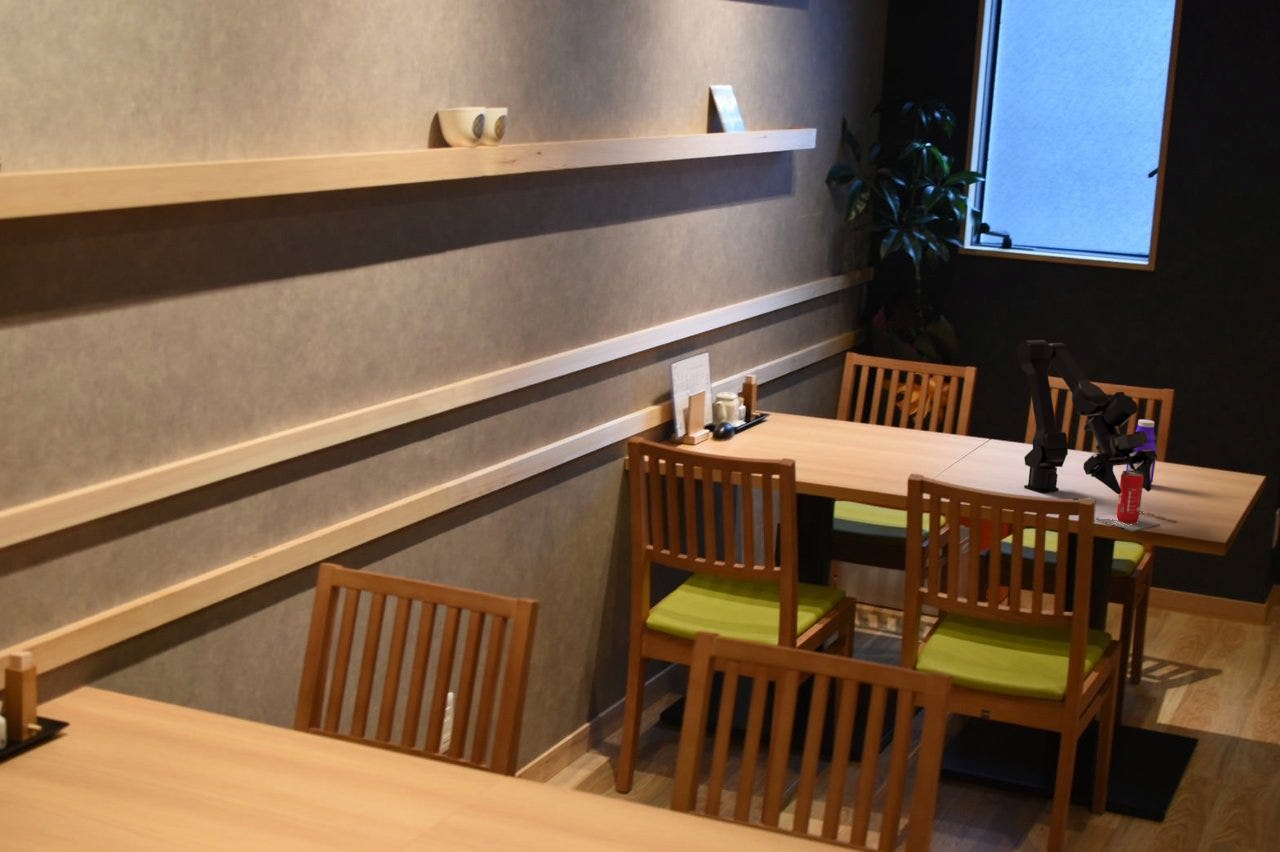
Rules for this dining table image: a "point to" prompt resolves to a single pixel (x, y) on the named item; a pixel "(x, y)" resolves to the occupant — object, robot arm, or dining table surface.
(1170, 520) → the line
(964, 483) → the dining table surface
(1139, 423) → the bottle
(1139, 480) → the beverage can
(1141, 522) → the mat
